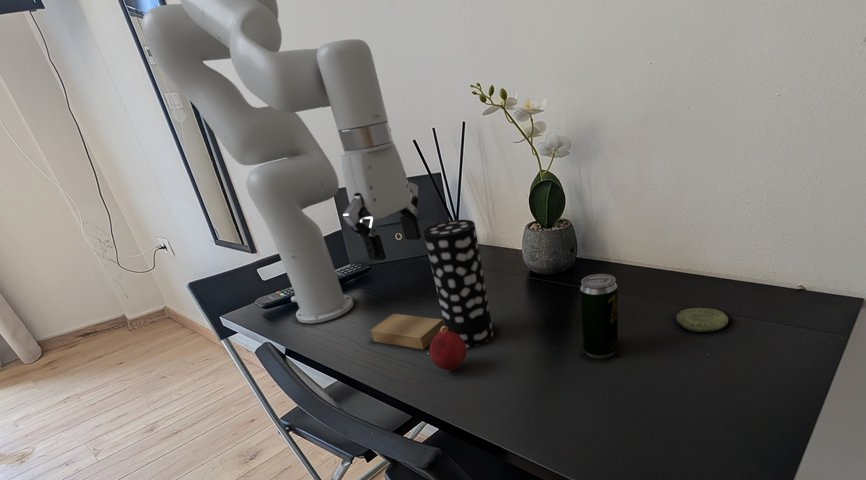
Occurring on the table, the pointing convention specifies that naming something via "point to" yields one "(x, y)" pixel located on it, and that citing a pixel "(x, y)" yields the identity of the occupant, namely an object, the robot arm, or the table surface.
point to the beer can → (599, 315)
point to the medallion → (702, 319)
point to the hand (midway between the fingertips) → (396, 248)
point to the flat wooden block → (407, 331)
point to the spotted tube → (460, 280)
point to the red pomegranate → (447, 349)
